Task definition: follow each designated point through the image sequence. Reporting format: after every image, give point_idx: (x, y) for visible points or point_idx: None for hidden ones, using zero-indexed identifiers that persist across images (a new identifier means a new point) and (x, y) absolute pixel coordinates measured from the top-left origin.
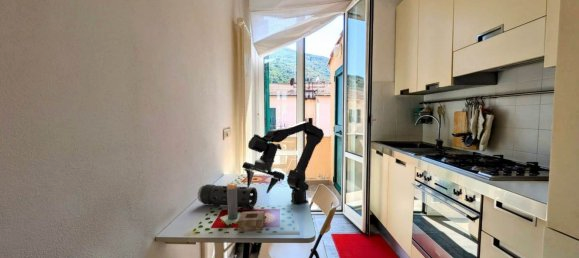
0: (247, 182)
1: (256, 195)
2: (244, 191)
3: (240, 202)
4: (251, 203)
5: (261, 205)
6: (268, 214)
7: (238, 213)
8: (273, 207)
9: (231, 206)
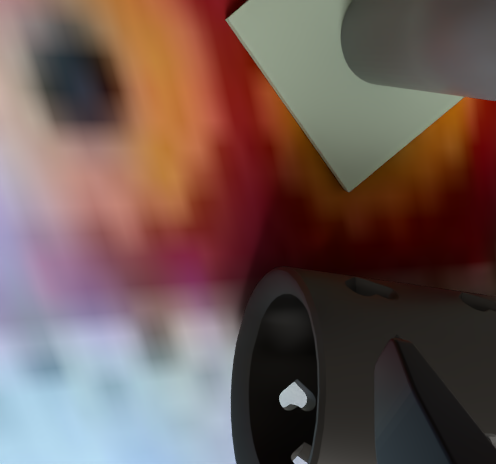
0: (466, 412)
1: (246, 457)
2: None
3: (385, 281)
4: (274, 355)
5: (183, 394)
6: (35, 169)
7: (353, 160)
8: (42, 361)
9: None
